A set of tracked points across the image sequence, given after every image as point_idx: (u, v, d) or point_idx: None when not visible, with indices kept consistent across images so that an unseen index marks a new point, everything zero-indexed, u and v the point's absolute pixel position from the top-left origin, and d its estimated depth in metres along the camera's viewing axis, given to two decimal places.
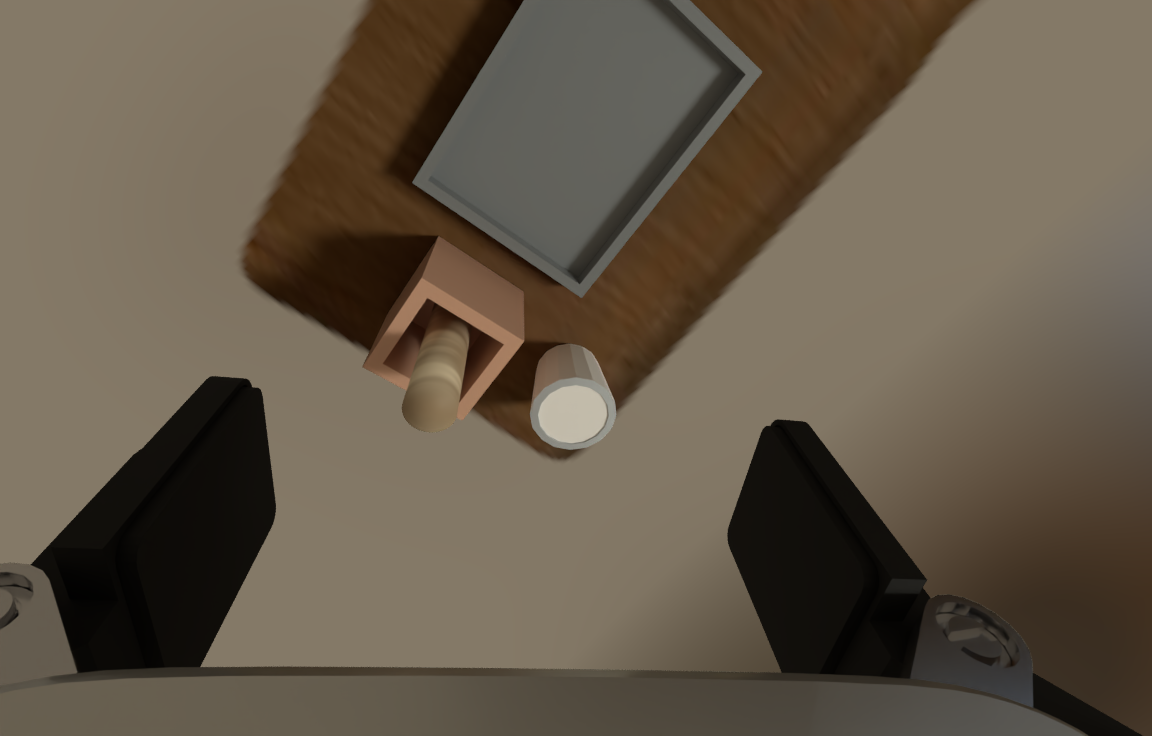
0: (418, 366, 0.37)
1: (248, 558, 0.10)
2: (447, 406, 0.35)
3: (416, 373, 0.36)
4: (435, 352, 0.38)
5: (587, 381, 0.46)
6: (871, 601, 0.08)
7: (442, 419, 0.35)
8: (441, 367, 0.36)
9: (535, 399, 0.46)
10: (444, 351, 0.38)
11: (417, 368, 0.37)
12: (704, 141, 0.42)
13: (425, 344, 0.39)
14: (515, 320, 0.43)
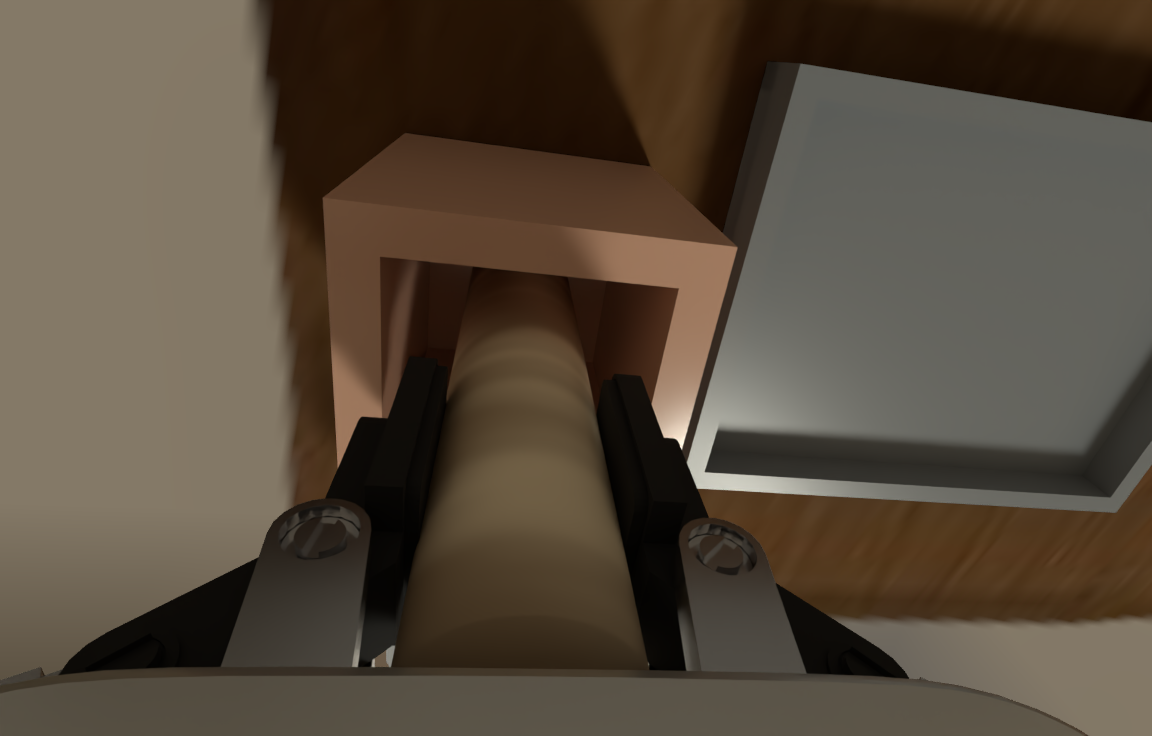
0: (560, 452, 0.09)
1: None
2: None
3: (564, 492, 0.08)
4: (596, 442, 0.11)
5: None
6: (645, 525, 0.09)
7: None
8: None
9: None
10: (603, 452, 0.11)
11: (557, 460, 0.09)
12: (1005, 503, 0.25)
13: (552, 364, 0.12)
14: None
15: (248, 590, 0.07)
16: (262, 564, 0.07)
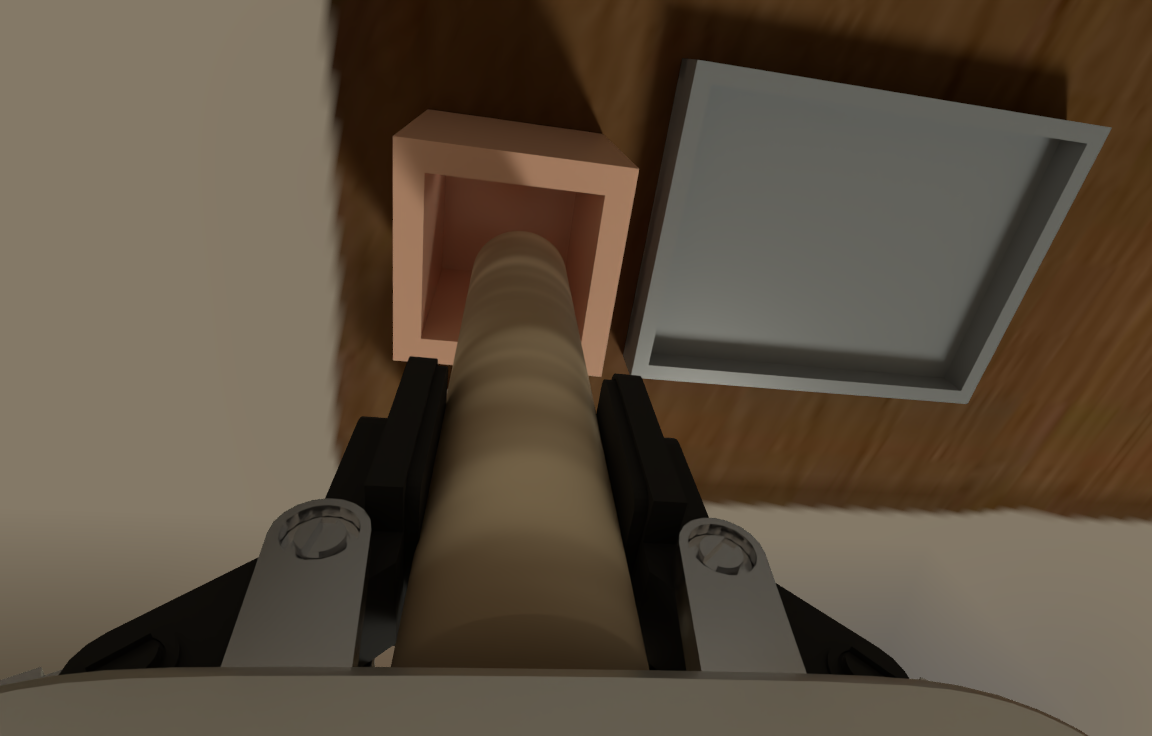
0: (560, 452, 0.09)
1: None
2: None
3: (564, 491, 0.08)
4: (596, 441, 0.11)
5: None
6: (645, 525, 0.09)
7: None
8: None
9: None
10: (603, 451, 0.11)
11: (557, 460, 0.09)
12: (880, 394, 0.33)
13: (552, 363, 0.12)
14: None
15: (248, 590, 0.07)
16: (262, 564, 0.07)
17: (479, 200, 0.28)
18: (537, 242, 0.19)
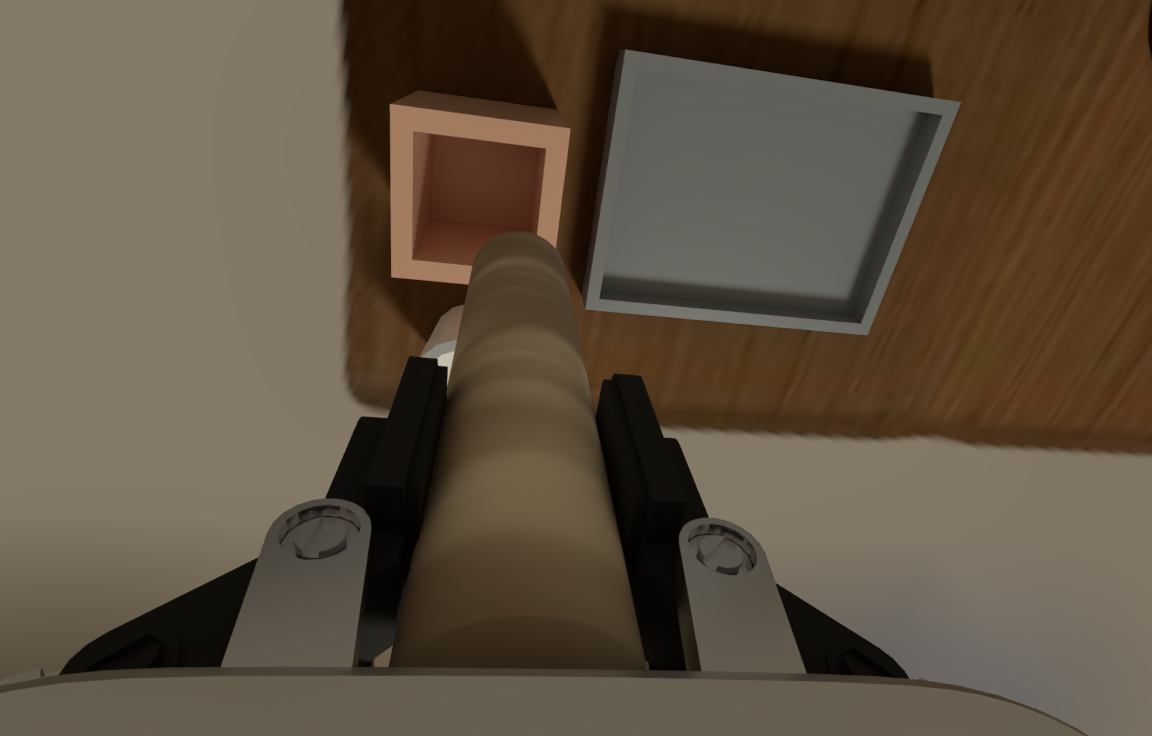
0: (559, 453, 0.09)
1: None
2: None
3: (563, 492, 0.08)
4: (595, 442, 0.11)
5: None
6: (645, 525, 0.09)
7: None
8: None
9: None
10: (602, 452, 0.11)
11: (555, 461, 0.09)
12: (793, 326, 0.41)
13: (550, 364, 0.12)
14: None
15: (248, 590, 0.07)
16: (262, 564, 0.07)
17: (459, 162, 0.35)
18: (536, 242, 0.19)
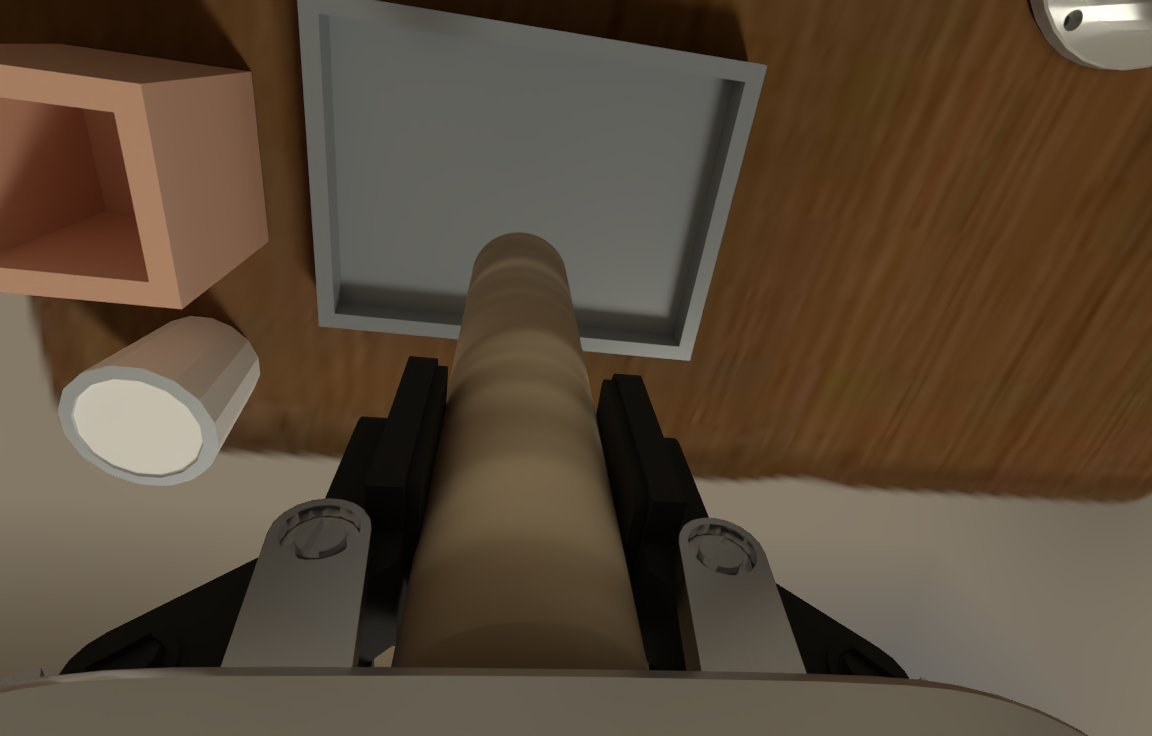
0: (559, 456, 0.09)
1: None
2: None
3: (564, 496, 0.08)
4: (596, 444, 0.10)
5: (206, 417, 0.28)
6: (645, 525, 0.09)
7: None
8: None
9: (112, 367, 0.26)
10: (603, 454, 0.11)
11: (557, 464, 0.09)
12: (592, 349, 0.33)
13: (551, 366, 0.12)
14: (208, 270, 0.25)
15: (248, 590, 0.07)
16: (262, 564, 0.07)
17: None
18: (537, 244, 0.19)
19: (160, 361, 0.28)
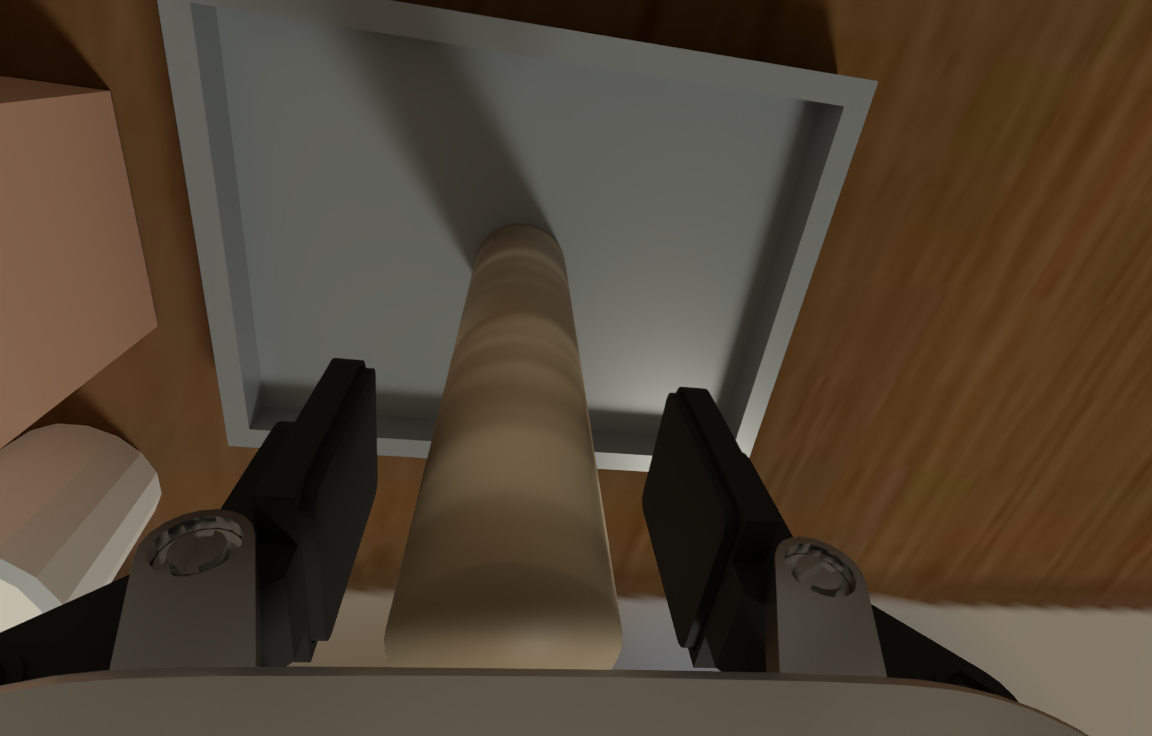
0: (547, 428, 0.10)
1: (363, 523, 0.11)
2: None
3: (549, 461, 0.09)
4: (583, 419, 0.11)
5: (50, 598, 0.19)
6: (734, 544, 0.09)
7: None
8: None
9: None
10: (590, 430, 0.12)
11: (544, 434, 0.10)
12: (611, 466, 0.24)
13: (544, 348, 0.13)
14: (24, 401, 0.16)
15: (121, 618, 0.06)
16: (133, 589, 0.06)
17: None
18: (537, 235, 0.20)
19: None
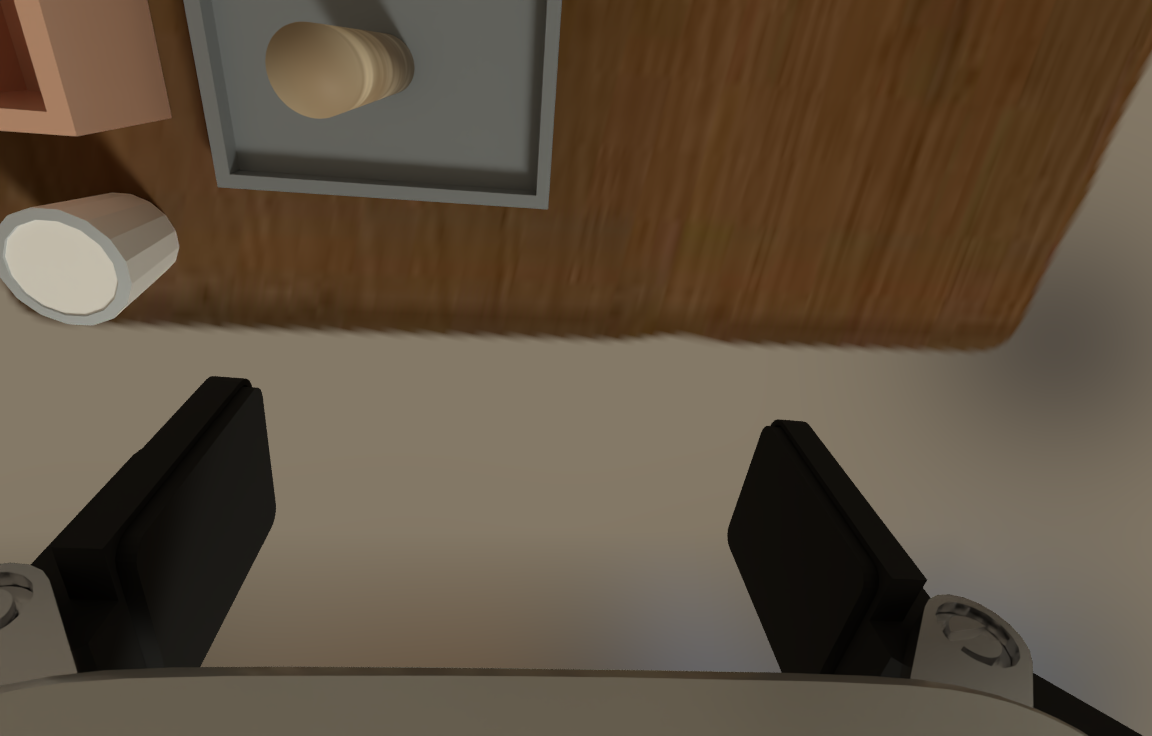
0: (341, 28, 0.24)
1: (248, 558, 0.10)
2: (336, 94, 0.22)
3: (336, 27, 0.23)
4: (369, 45, 0.25)
5: (118, 255, 0.33)
6: (871, 601, 0.08)
7: (310, 99, 0.22)
8: (368, 61, 0.24)
9: (33, 209, 0.32)
10: (377, 58, 0.26)
11: (338, 27, 0.24)
12: (460, 201, 0.38)
13: (358, 30, 0.26)
14: (104, 115, 0.30)
15: None
16: None
17: None
18: (389, 34, 0.34)
19: (76, 208, 0.33)
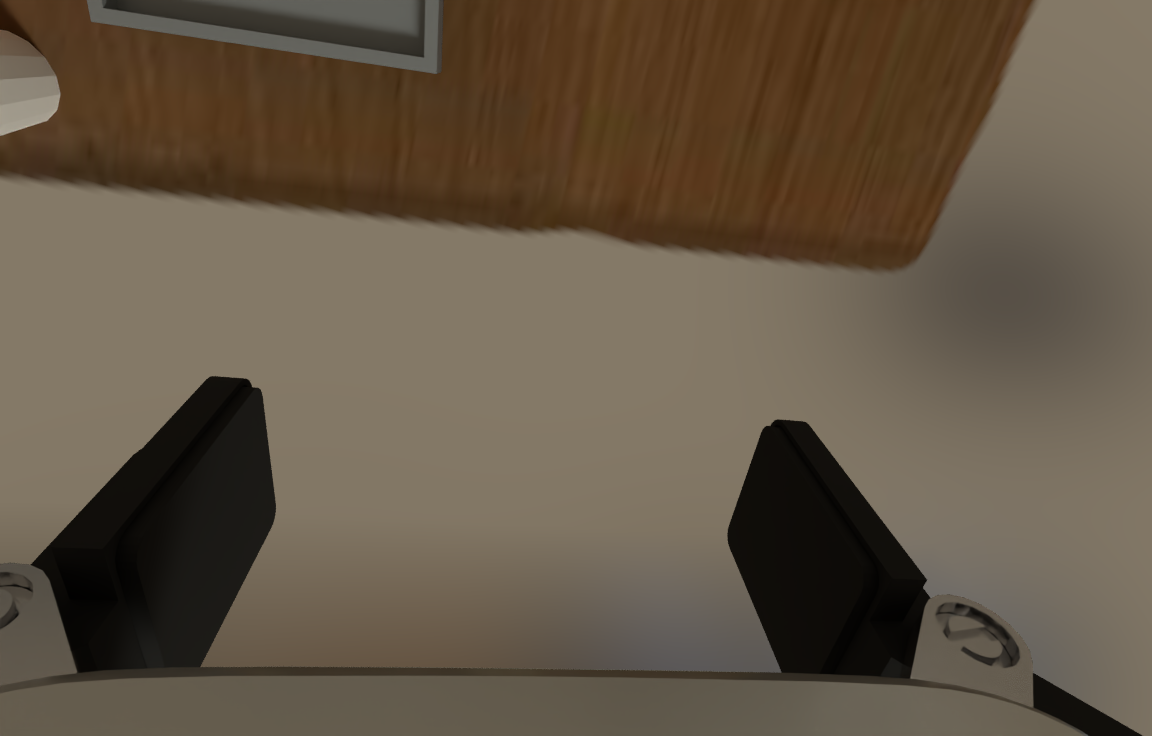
0: None
1: (248, 558, 0.10)
2: None
3: None
4: None
5: None
6: (871, 601, 0.08)
7: None
8: None
9: None
10: None
11: None
12: (345, 57, 0.37)
13: None
14: None
15: None
16: None
17: None
18: None
19: None
